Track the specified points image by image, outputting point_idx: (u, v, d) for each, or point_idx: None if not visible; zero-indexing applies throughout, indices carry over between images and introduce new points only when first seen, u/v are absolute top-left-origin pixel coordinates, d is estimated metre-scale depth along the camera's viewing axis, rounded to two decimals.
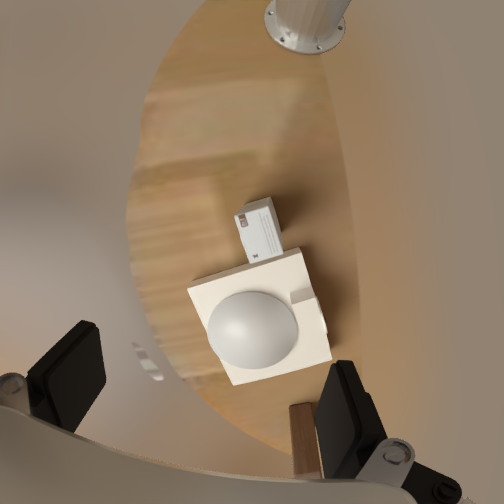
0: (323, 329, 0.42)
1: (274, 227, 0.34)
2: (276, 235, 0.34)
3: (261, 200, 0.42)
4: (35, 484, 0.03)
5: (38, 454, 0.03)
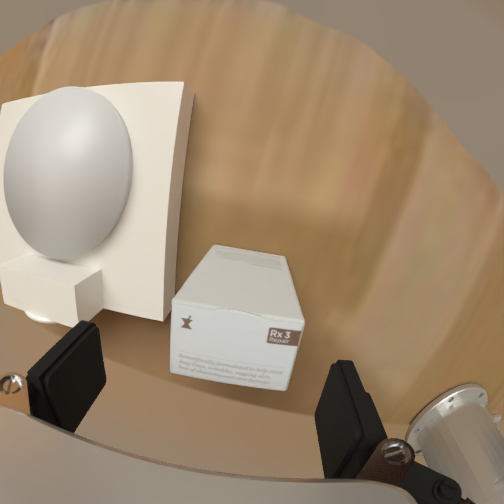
0: (29, 310, 0.19)
1: (234, 383, 0.14)
2: (215, 379, 0.14)
3: None
4: (35, 484, 0.03)
5: (38, 454, 0.03)
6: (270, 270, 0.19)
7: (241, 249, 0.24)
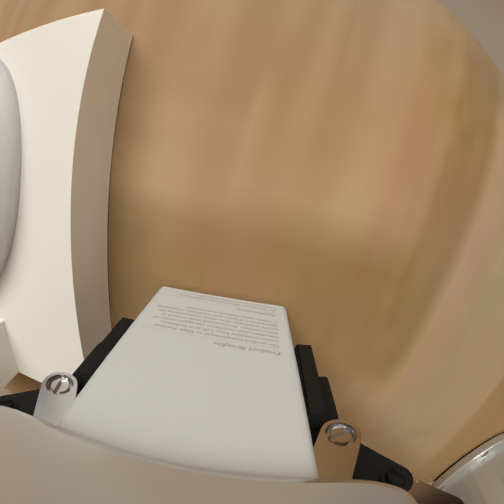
0: None
1: None
2: None
3: None
4: (35, 484, 0.03)
5: (38, 454, 0.03)
6: (257, 360, 0.09)
7: (208, 296, 0.13)
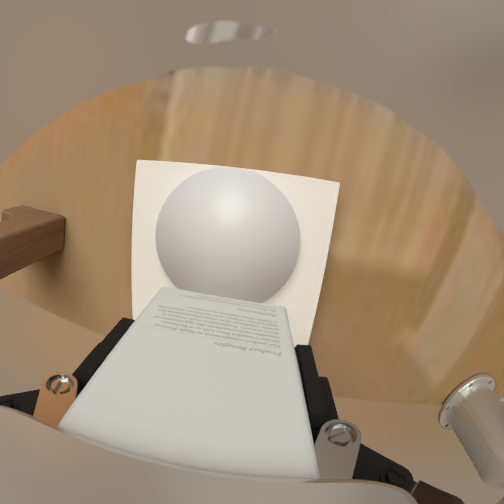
0: None
1: None
2: None
3: None
4: (35, 484, 0.03)
5: (38, 454, 0.03)
6: (257, 360, 0.09)
7: (208, 296, 0.13)
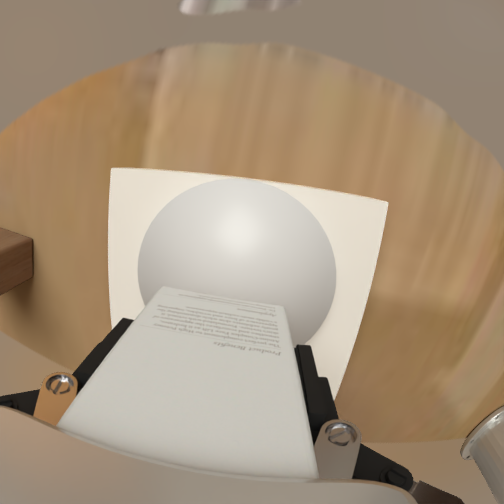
0: None
1: None
2: None
3: None
4: (35, 484, 0.03)
5: (38, 454, 0.03)
6: (257, 360, 0.09)
7: (208, 296, 0.13)
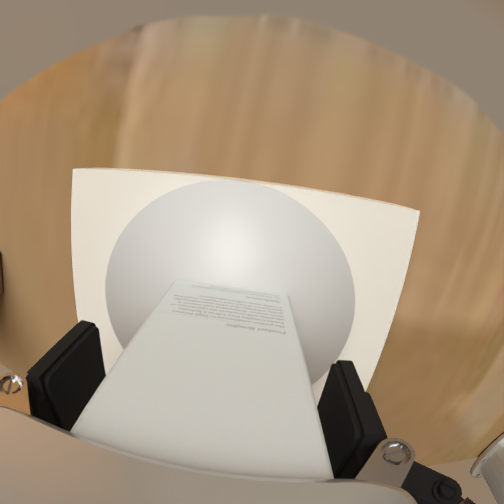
0: None
1: None
2: None
3: None
4: (35, 484, 0.03)
5: (38, 454, 0.03)
6: (265, 337, 0.10)
7: (218, 286, 0.15)
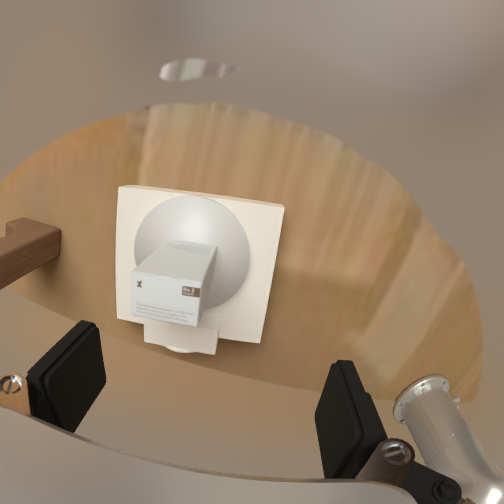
0: (171, 346, 0.35)
1: (168, 321, 0.24)
2: (157, 318, 0.24)
3: None
4: (35, 484, 0.03)
5: (38, 454, 0.03)
6: (199, 255, 0.30)
7: (186, 241, 0.34)
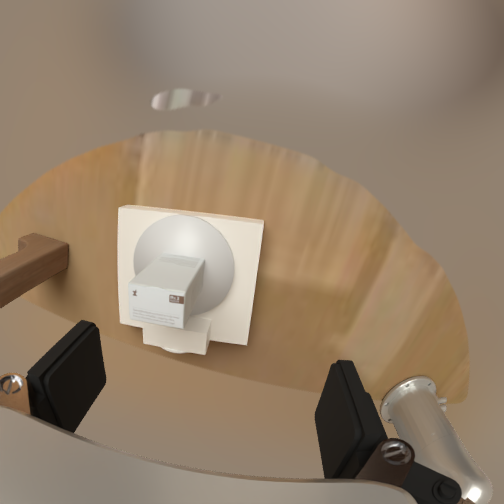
0: (167, 347, 0.39)
1: (159, 324, 0.28)
2: (150, 322, 0.28)
3: (200, 285, 0.37)
4: (35, 484, 0.03)
5: (38, 454, 0.03)
6: (187, 267, 0.34)
7: (178, 255, 0.38)
